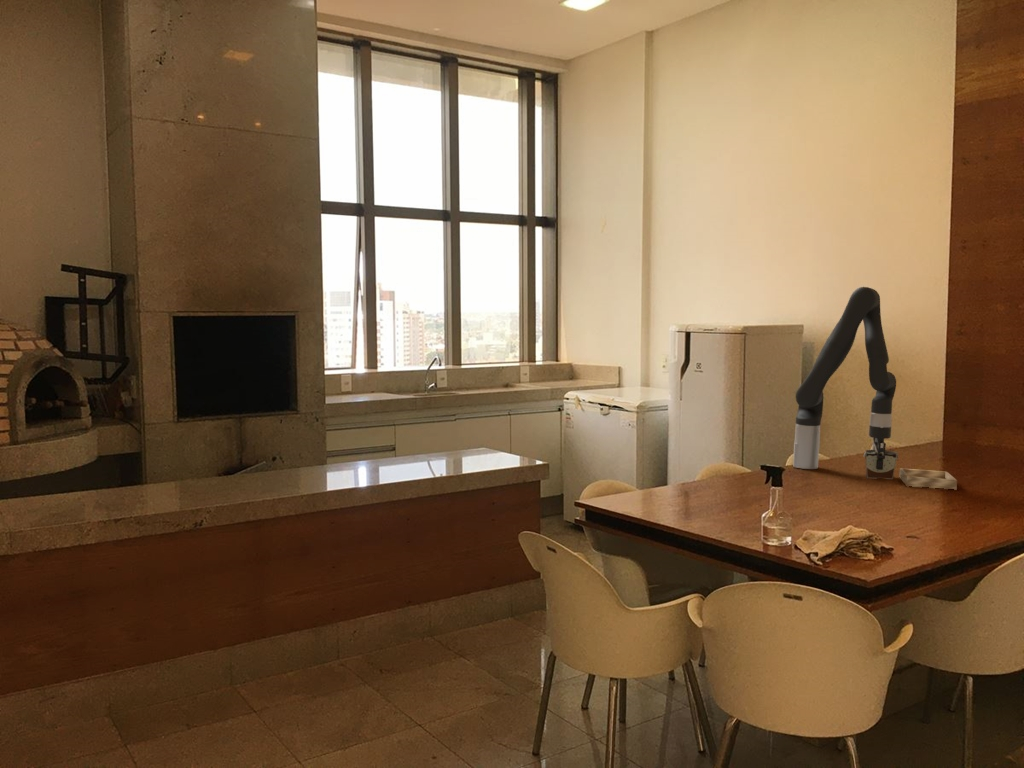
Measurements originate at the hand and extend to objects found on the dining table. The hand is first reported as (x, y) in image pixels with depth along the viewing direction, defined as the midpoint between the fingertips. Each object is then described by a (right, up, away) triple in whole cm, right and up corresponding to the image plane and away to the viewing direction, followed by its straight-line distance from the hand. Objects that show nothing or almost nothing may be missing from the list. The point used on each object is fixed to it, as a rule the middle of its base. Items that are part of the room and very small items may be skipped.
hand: (877, 467), depth 305 cm
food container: (0, -4, 0) cm, 4 cm away
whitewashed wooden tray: (+14, -5, -10) cm, 17 cm away
